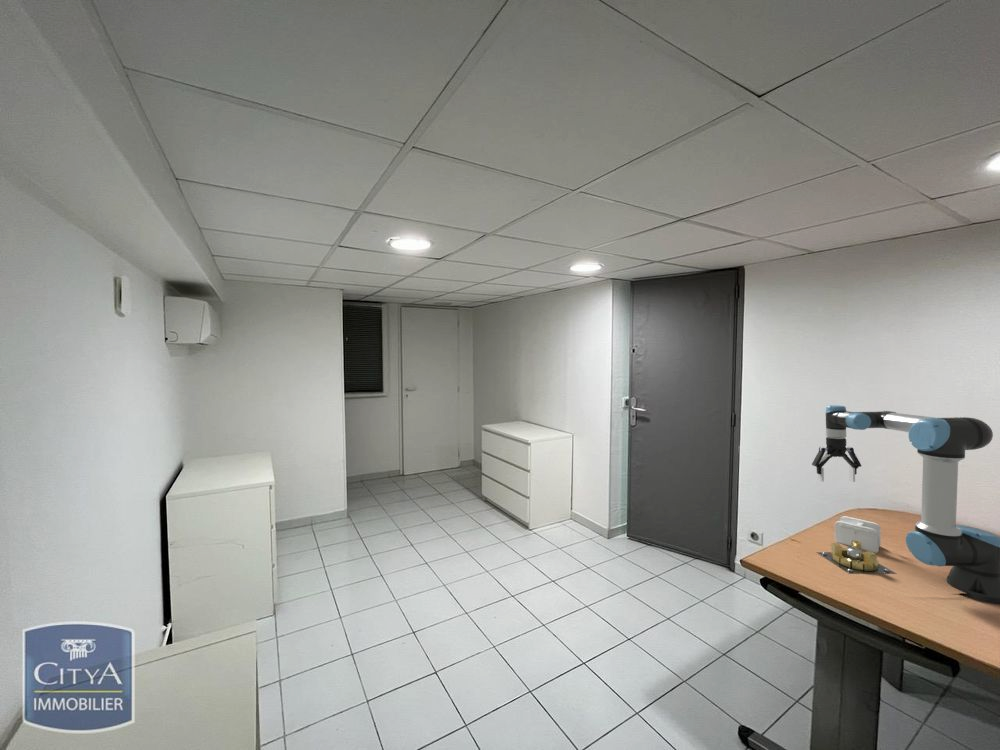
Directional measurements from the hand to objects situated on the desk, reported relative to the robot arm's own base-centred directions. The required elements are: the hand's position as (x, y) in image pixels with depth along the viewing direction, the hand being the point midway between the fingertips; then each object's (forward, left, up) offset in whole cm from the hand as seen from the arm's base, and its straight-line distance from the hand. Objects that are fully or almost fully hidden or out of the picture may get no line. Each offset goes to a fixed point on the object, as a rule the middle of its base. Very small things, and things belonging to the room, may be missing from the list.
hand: (836, 480), depth 194 cm
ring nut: (-29, +14, -26) cm, 41 cm away
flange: (-29, +14, -27) cm, 42 cm away
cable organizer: (-12, -1, -28) cm, 30 cm away
